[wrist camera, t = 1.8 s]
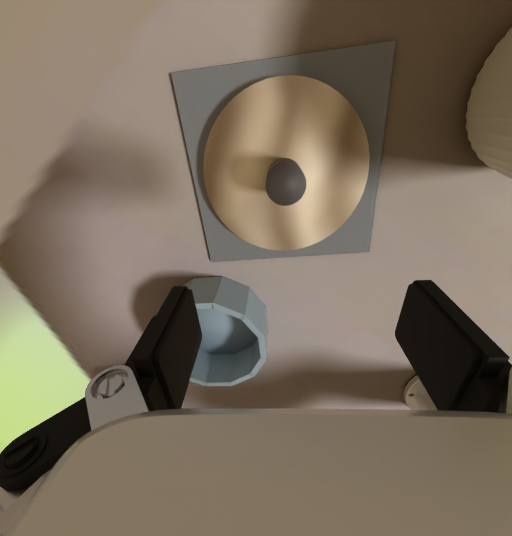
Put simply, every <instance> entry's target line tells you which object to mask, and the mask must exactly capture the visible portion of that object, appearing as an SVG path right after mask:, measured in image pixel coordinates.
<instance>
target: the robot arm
mask: <svg viewBox="0 0 512 536" xmlns="http://www.w3.org/2000/svg"><path fill="white" fill-rule="evenodd" d="M395 336H396V339H397V341H398V343H399V345H400V346H401V348H402V350H403V351H404V353H405V355H406V357H407V358H408V360H409V362H410V363H411V365H412V367H413V369H414V370H415V372H416V374H417V375H416V376H415V377H413V378H412V379H411V380H410V381H409V382H408V384H407V385H406V387H405V389H404V399H405V401H406V403H407V405H408V407H409V408H410V409H411V410H376V409H270V408H203V409H181V407H182V403H183V400H184V397H185V393H186V390H187V387H188V384H189V380H190V377H191V374H192V371H193V367H194V364H195V361H196V358H197V354H198V351H199V348H200V345H201V341H202V331H201V327H200V322H199V318H198V314H197V309H196V305H195V300H194V296H193V292H192V290H191V289H188V287H187V286H174V287H173V288H172V289H171V291H170V293H169V295H168V296H167V298H166V300H165V302H164V303H163V305H162V307H161V309H160V310H159V312H158V314H157V315H156V316H154V317H153V318H152V319H151V321H150V323H149V324H148V326H147V328H146V329H145V331H144V333H143V334H142V336H141V338H140V340H139V341H138V343H137V345H136V346H135V348H134V350H133V351H132V353H131V355H130V356H129V358H128V360H127V361H126V363H125V365H116V366H112V367H109V368H107V369H105V370H103V371H102V372H100V373H98V374H97V375H96V376H95V377H94V378H93V379H92V380H91V381H90V383H89V384H88V386H87V388H86V392H85V397H84V398H83V399H81V400H80V401H78V402H76V403H74V404H72V405H71V406H69V407H68V408H66V409H64V410H63V411H61V412H59V413H57V414H56V415H54V416H52V417H51V418H49V419H47V420H46V421H44V422H42V423H40V424H39V425H37V426H36V427H34V428H32V429H30V430H29V431H27V432H25V433H24V434H22V435H21V436H19V437H18V438H16V439H15V440H13V441H12V442H11V443H10V444H9V445H8V446H7V447H6V448H5V449H4V450H3V451H2V452H1V454H0V536H512V365H511V364H510V363H509V362H508V360H509V358H510V357H509V356H508V355H507V354H506V353H505V352H504V351H503V350H502V349H501V348H500V347H499V346H498V345H497V344H496V343H495V342H494V341H492V340H491V339H490V338H489V337H488V336H487V335H486V334H485V333H484V332H483V331H482V330H481V329H480V328H479V327H478V326H477V325H476V324H475V323H474V322H473V321H472V320H471V319H470V318H469V317H468V316H467V315H466V314H465V313H464V312H463V311H462V310H461V309H460V308H459V307H458V306H457V305H456V304H455V303H454V302H453V301H452V300H451V299H450V298H449V297H448V296H447V295H446V294H445V293H444V292H443V291H442V290H441V289H440V288H439V287H438V286H437V285H436V284H435V283H434V282H433V281H431V280H416V281H414V282H413V283H412V284H410V285H409V286H408V289H407V293H406V296H405V299H404V303H403V306H402V310H401V313H400V316H399V320H398V323H397V327H396V330H395Z"/></svg>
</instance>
